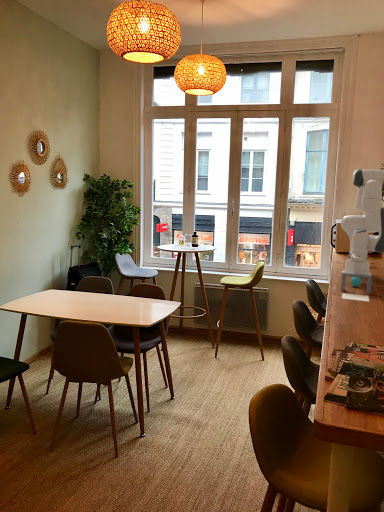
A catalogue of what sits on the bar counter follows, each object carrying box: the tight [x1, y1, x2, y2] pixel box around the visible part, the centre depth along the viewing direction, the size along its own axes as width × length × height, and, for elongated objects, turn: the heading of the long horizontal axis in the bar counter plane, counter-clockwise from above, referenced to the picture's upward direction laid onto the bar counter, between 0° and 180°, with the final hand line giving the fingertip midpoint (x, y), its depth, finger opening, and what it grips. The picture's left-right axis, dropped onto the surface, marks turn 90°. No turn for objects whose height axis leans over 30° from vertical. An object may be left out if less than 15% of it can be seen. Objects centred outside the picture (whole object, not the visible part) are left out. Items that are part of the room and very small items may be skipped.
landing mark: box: [341, 292, 370, 303], centre depth 236 cm, size 13×13×1 cm
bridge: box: [340, 273, 373, 295], centre depth 249 cm, size 3×15×10 cm, turn 71°
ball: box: [350, 277, 363, 287], centre depth 264 cm, size 6×6×6 cm
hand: (356, 279), depth 273 cm, fingers closed
